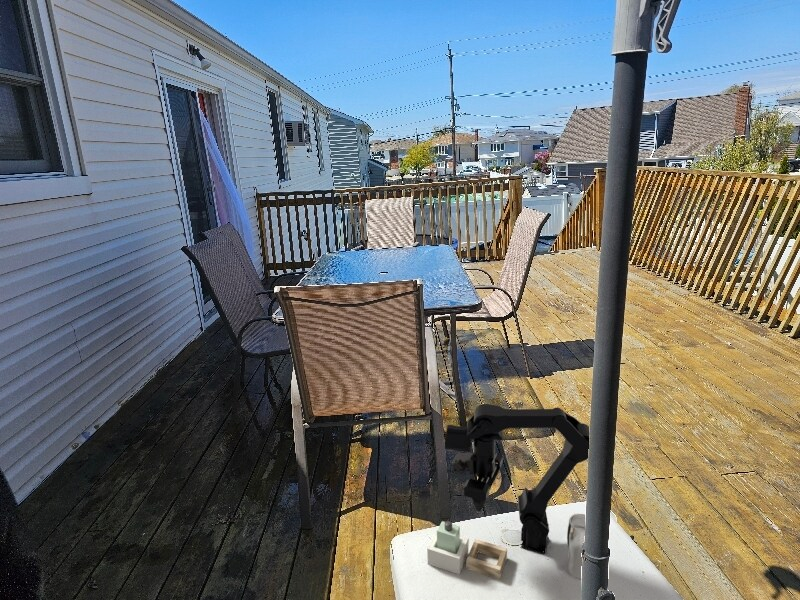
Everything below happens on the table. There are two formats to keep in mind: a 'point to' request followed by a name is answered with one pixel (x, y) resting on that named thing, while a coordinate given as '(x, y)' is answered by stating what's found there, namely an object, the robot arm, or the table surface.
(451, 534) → the plug
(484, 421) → the robot arm
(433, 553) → the socket
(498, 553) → the tan wooden frame
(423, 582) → the table surface
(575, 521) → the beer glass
